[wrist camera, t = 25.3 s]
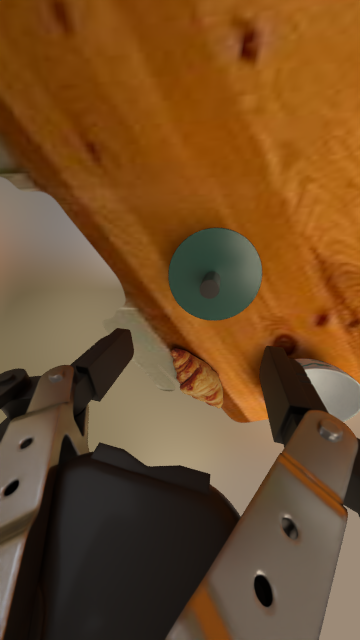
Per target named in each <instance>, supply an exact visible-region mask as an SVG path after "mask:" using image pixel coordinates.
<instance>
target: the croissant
mask: <svg viewBox="0 0 360 640" xmlns="http://www.w3.org/2000/svg"><path fill="white" fill-rule="evenodd" d="M170 354H171V355H172V357H173V358H174V360H173V366H174V367H175V370H176V372H177V377H176V378H177V380H178V381H179V383H180V390H181V391H182V392H183V393H184V394H188V395H191V396H192V397H193V398H195V399H198V400H200V401H205V402H206V403H207V404H209V405H212V406H215V407H217V408H220V407H221V406H222V404H223V389H222V385H221V383H220V380H219V374H217V373H216V372H215V371H213V370H212V369H211V367H210V366H209V365H208V364H207V363H205V362H204V361H202V360H200V359H198V358H197V357H195V356H193V355H192V354H190V353H189V352H187V351H185V350H181V349H177V348H175V349H173V350H172V351H171V353H170Z"/></svg>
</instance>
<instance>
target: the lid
mask: <svg viewBox="0 0 360 640" xmlns="http://www.w3.org/2000/svg"><path fill="white" fill-rule="evenodd" d="M261 281H262V265H261V260H260V257H259V255H258V253H257V251H256V249H255V247H254V246H253V245H252V243H251V242H250V241H249V240H248V239H247V238H245V237H244V236H242V235H241V234H239V233H237V232H235V231H232V230H229V229H225V228H209V229H205V230H201V231H199V232H196V233H194V234H193V235H191V236H189V237H188V238H187V239H185V240H184V241H183V242H182V243H181V244H180V245H179V247H178V248H177V250H176V251H175V253H174V255H173V257H172V259H171V262H170V266H169V285H170V289H171V292H172V294H173V296H174V298H175V300H176V301H177V303H178V304H179V305H180V306H181V307H182V308H183V309H184V310H185V311H186V312H188V313H189V314H191V315H193V316H195V317H198V318H200V319H205V320H223V319H227V318H230V317H233V316H235V315H237V314H238V313H240V312H242V311H243V310H244V309H245V308H247V307H248V306H249V304H250V303H251V302H252V301H253V300H254V298H255V296H256V295H257V293H258V290H259V288H260V285H261Z"/></svg>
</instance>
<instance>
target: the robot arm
mask: <svg viewBox="0 0 360 640" xmlns="http://www.w3.org/2000/svg"><path fill="white" fill-rule="evenodd" d="M133 354H134V348H133V342H132V336H131V332H130V330H128V329H120V328H117V329H115V330H114V331H113V332H112V333H111V334H110V335H108V336H106V337H104V338H102V339H100V340H99V341H98V342H96V343H95V345H93V346H92V347H91V348H90V349H88V350H87V351H86V352H85V353H84V354H82V356H80V357H79V358H78V359H77V360H75V361H74V362H73V363H72V364H71V365H61V366H58V367H55V368H52V369H50V370H49V371H47V372H46V373H44V374H43V375H42V376H33V377H29V376H28V374H27V372H26V371H25V370H24V369H13V370H9V371H6V372H4V373H2V374H0V409H2V411H3V412H4V413H5V415H6V416H7V418H6V419H5V420H4V421H3V422H2V423H1V424H0V640H319V636H320V632H321V628H322V624H323V620H324V616H325V611H326V607H327V603H328V599H329V594H330V591H331V586H332V582H333V578H334V574H335V570H336V565H337V561H338V557H339V553H340V549H341V545H342V541H343V536H344V532H345V528H346V524H347V518H348V512H347V509H346V508H345V507H344V506H343V505H345V506H347V507H348V508H350V509H352V510H353V511H355V512H357V513H358V514H359V517H360V439H358V438H356V436H355V435H354V433H353V432H352V431H351V429H350V428H349V427H348V426H347V425H346V424H345V423H343V422H342V421H341V420H339V419H338V418H336V417H335V416H333V415H331V414H329V412H328V411H327V409H326V407H325V405H324V404H323V402H322V400H321V398H320V396H319V395H318V393H317V391H316V389H315V388H314V386H313V384H311V380H310V379H309V377H307V373H306V372H305V370H304V368H303V366H302V365H300V364H299V363H298V362H297V361H296V360H295V359H292V358H288V356H287V354H286V352H285V350H284V348H282V347H273V346H266V348H265V351H264V355H263V358H262V362H261V366H260V374H259V375H260V382H261V387H262V391H263V395H264V400H265V404H266V409H267V413H268V418H269V422H270V426H271V431H272V435H273V439H274V442H277V443H281V444H284V450H283V451H282V453H280V454H279V456H278V457H277V459H276V461H275V462H274V464H273V465H272V467H271V469H270V470H269V472H268V474H267V475H266V477H265V479H264V480H263V482H262V484H261V485H260V487H259V489H258V490H257V492H256V493H255V495H254V497H253V498H252V500H251V502H250V503H249V505H248V506H247V508H246V510H245V511H244V513H243V515H242V516H241V517H240V515H239V513H238V512H237V511H236V509H235V508H234V507H233V505H232V504H231V503H230V501H229V500H228V499H227V498H226V497H225V496H224V495H223V494H222V493H221V492H219V491H218V490H217V489H216V488H214V487H213V486H212V485H210V474H208V473H204V472H201V471H198V470H194V469H190V468H187V467H184V466H180V465H179V466H153V467H150V466H146V465H144V464H143V463H142V462H140V461H139V460H138V459H136V458H134V457H133V456H132V455H131V454H129V453H128V452H127V451H125V450H124V449H121V448H117V447H113V446H110V445H107V444H103V443H99V444H98V446H97V447H96V449H95V451H94V452H89V448H88V420H89V405H88V403H89V402H90V400H95V401H99V402H100V401H101V399H102V398H103V397H104V395H105V394H106V393H107V391H108V390H109V389H110V387H111V386H112V385H113V383H114V382H115V380H116V379H117V378H118V377H119V375H120V374H121V372H122V371H123V369H124V368H125V367H126V366H127V364H128V363H129V361H130V360H131V359H132V357H133Z"/></svg>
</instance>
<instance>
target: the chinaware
mask: <svg viewBox="0 0 360 640" xmlns="http://www.w3.org/2000/svg"><path fill="white" fill-rule="evenodd" d="M295 360H296V361H297V362H298V363H299V364H300V365H302V366H303V368H304V370H305V372H306V373H307V377H309V379H310V380H311V384H313V386H314V388H315V389H316V391H317V393H318V395H319V396H320V398H321V400H322V402H323V404H324V405H325V407H326V409H327V411H328V412H329V414H331V415H333V416H335V417H336V418H338V419H339V420H341V421H342V422H344V421H347V420H348V419H350V418H352V417H353V416H355V415H356V414H357V413H358V412H359V411H360V384H359V383H358V382H357V381H356V380H355V379H354V378H352V377H351V376H350V375H348V374H347V373H345V372H344V371H342V370H341V369H339V368H337V367H335V366H333V365H331V364H329V363H326V362H323V361H319V360H314V359H295Z"/></svg>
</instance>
